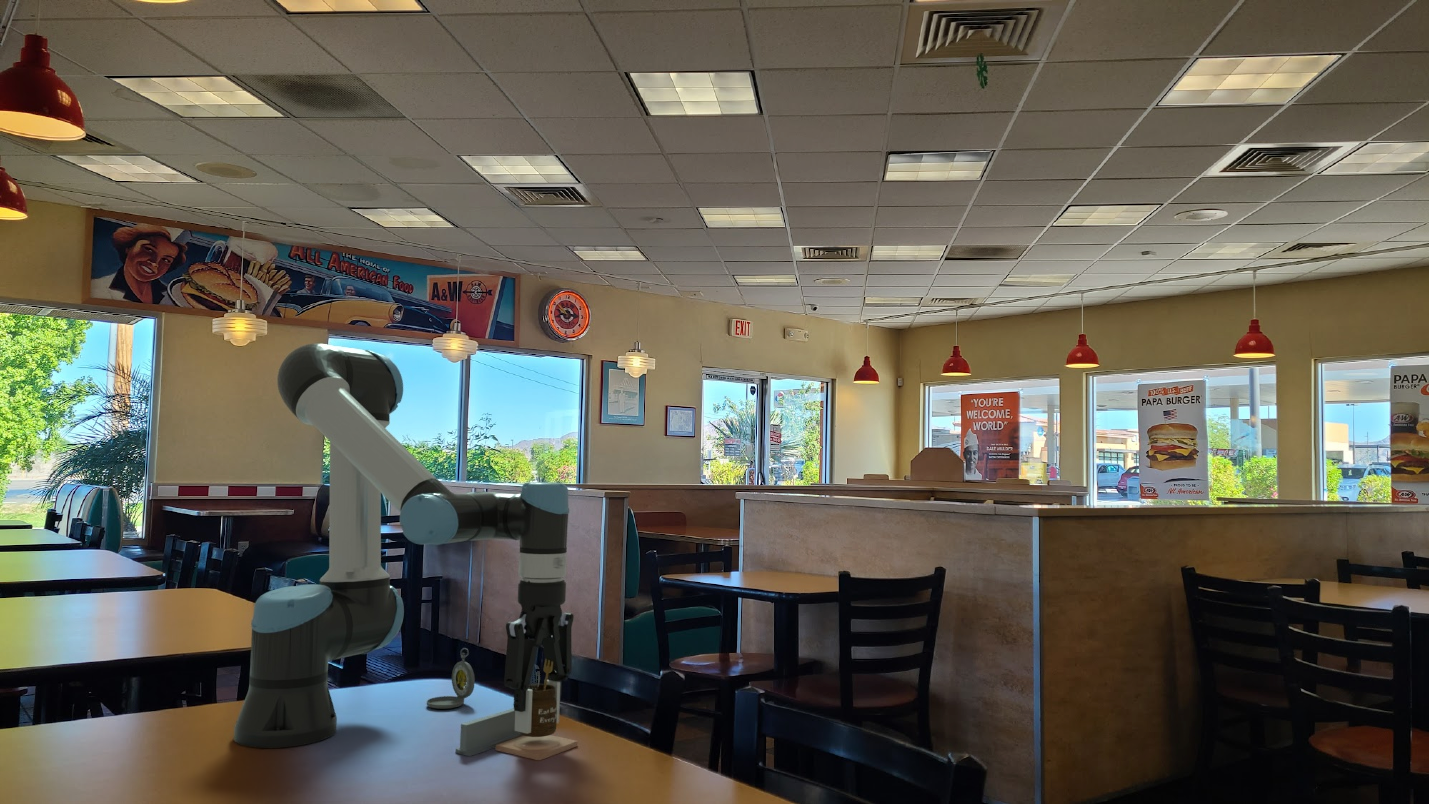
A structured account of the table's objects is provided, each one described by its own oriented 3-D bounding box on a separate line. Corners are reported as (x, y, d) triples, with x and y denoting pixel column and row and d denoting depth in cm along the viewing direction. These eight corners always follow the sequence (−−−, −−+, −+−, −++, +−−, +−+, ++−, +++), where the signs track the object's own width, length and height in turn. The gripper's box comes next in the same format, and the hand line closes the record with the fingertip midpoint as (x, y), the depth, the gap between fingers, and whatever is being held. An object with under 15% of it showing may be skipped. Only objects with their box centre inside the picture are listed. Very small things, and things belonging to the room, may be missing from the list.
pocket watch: (419, 709, 170) (422, 653, 171) (440, 698, 179) (443, 644, 179) (462, 712, 169) (464, 655, 170) (481, 701, 177) (483, 647, 178)
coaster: (495, 750, 147) (495, 744, 147) (534, 736, 155) (534, 731, 155) (539, 760, 143) (539, 754, 143) (577, 746, 150) (577, 740, 150)
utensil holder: (510, 734, 147) (513, 657, 148) (533, 724, 153) (535, 650, 154) (542, 740, 145) (545, 660, 146) (564, 729, 151) (566, 653, 152)
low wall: (455, 752, 146) (456, 723, 146) (534, 726, 161) (535, 699, 161) (469, 756, 144) (470, 726, 144) (548, 729, 159) (548, 702, 160)
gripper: (519, 587, 141) (513, 745, 139) (597, 575, 157) (593, 717, 155) (482, 582, 145) (476, 736, 143) (562, 572, 161) (558, 710, 159)
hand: (537, 726), depth 149 cm, fingers open, 6 cm apart
